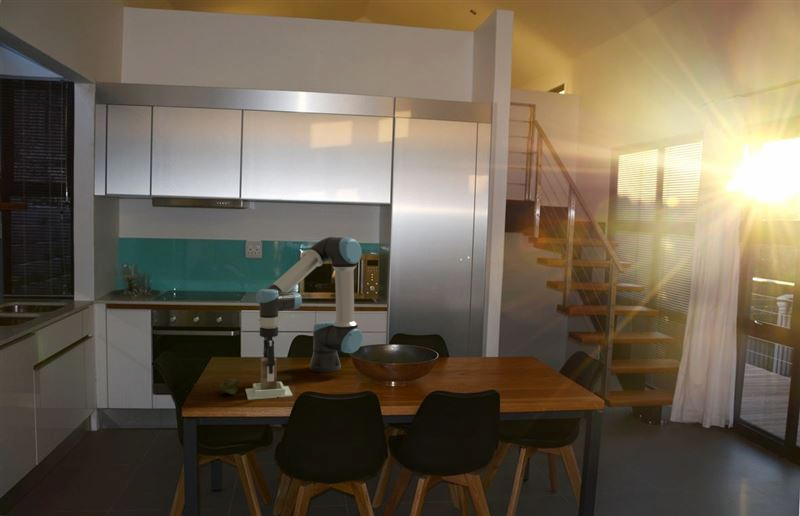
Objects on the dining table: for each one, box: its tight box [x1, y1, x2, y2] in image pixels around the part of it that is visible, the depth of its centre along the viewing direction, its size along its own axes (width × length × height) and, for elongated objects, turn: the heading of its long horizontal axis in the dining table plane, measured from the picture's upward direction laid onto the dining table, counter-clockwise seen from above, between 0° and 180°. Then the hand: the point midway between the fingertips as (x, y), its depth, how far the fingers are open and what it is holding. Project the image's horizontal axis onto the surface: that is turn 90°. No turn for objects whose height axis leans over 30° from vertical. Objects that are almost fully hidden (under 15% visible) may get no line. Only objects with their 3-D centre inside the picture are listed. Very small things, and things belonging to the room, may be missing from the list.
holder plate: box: [245, 381, 294, 401], centre depth 258 cm, size 18×14×3 cm
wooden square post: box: [260, 356, 278, 390], centre depth 258 cm, size 6×5×14 cm
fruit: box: [219, 377, 240, 396], centre depth 257 cm, size 11×12×7 cm
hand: (268, 377), depth 258 cm, fingers open, 13 cm apart
